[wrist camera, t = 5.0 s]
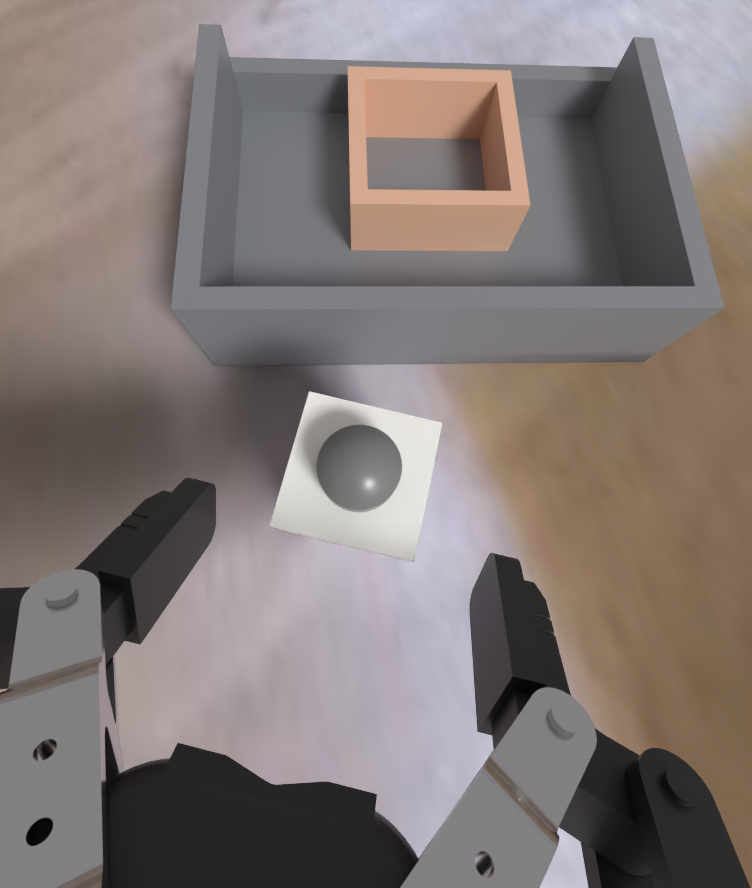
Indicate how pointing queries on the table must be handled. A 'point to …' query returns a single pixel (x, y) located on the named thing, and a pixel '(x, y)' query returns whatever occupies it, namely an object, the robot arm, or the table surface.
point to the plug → (358, 477)
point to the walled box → (435, 213)
